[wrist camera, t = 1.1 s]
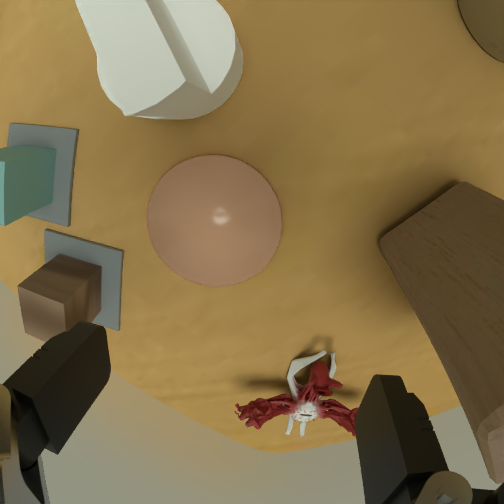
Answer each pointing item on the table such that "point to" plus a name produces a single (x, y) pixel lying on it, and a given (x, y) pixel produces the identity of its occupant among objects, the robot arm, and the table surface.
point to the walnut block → (60, 296)
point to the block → (460, 300)
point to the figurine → (303, 399)
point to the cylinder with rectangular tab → (164, 55)
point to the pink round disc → (214, 220)
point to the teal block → (25, 180)
